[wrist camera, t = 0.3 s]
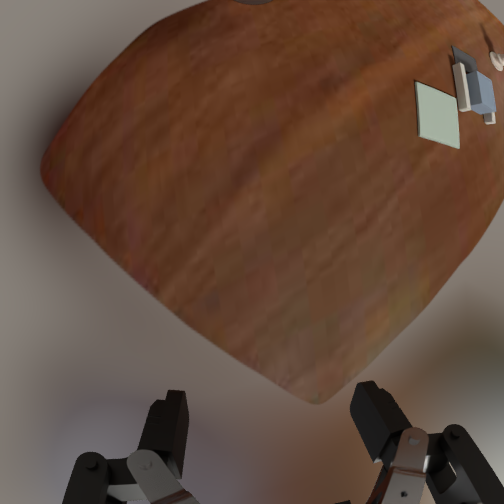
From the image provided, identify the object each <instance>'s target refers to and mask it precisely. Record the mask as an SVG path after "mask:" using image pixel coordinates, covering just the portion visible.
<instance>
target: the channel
mask: <svg viewBox="0 0 504 504" xmlns="http://www.w3.org/2000/svg"><path fill="white" fill-rule="evenodd" d="M452 50H453V54H454V59H455V65H452V67H453V72H454V78H455V85H456V92H457V100H458V109H459V110H460V111H462V112H464V111H469V110H471V106H470V98H469V91H468V85H467V79H466V73H465V71H466V72H468V73H472V72H474V71H478V70H477V65H476V61H475V59H474V58H472V57H471V56H469V55H467V54H466V53H464V52H462V51H461V50H459V49H457V48H456V47H454V46H452ZM484 123H486V124H495V114H494V112H491V113H485V114H484Z"/></svg>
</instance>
